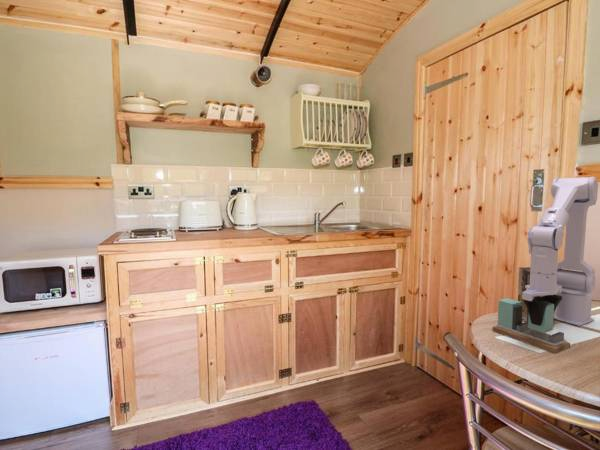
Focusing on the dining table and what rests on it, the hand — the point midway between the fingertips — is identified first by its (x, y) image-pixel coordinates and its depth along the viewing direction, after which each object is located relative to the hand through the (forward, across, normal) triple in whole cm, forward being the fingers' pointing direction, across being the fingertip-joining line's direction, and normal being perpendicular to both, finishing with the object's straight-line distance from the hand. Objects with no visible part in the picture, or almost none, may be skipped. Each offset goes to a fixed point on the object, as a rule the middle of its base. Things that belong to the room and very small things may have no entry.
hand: (541, 322), depth 89 cm
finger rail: (+5, 0, -3) cm, 6 cm away
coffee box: (+6, -15, -9) cm, 18 cm away
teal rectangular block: (+2, 0, 0) cm, 2 cm away
